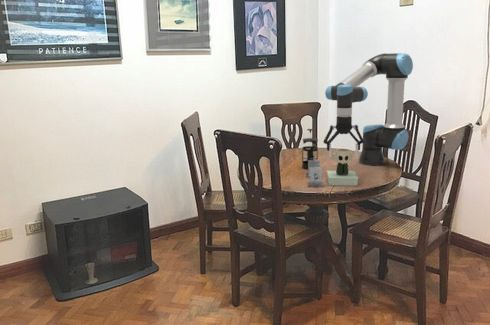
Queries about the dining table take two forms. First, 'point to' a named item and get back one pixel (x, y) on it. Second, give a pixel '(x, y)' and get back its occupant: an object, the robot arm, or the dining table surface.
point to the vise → (314, 174)
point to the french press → (309, 150)
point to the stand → (342, 178)
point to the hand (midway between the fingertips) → (343, 156)
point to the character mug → (342, 160)
